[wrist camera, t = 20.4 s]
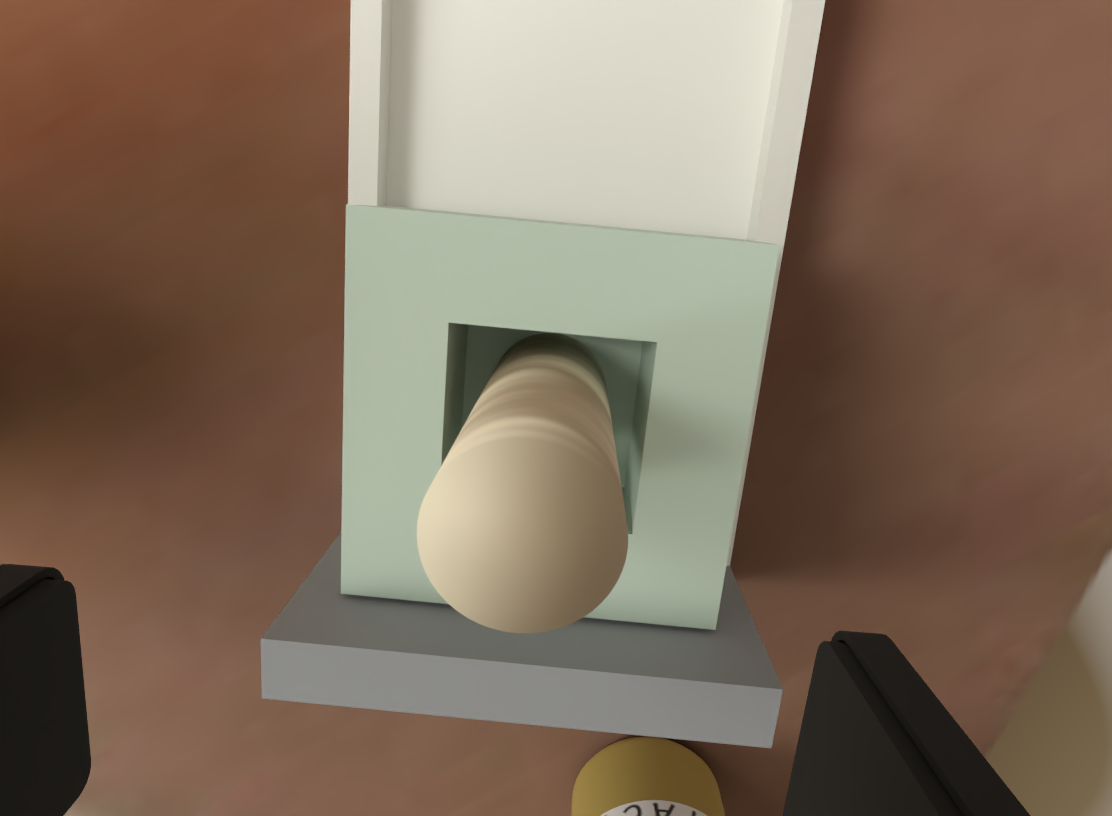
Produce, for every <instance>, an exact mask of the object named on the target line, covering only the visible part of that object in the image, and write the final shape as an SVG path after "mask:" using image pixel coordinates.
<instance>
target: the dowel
mask: <svg viewBox="0 0 1112 816" xmlns="http://www.w3.org/2000/svg"><path fill="white" fill-rule="evenodd" d="M417 546H418V551H419V555H420V559H421V562H422V565H423V568H424V570H425V572H426V574H427V576H428V578H429V580H430V582H431V583H432V585H433V586H434V588H435V589H436V591H437V592H438V593H439V594H440V595H441V596H442V598H443V599H444V600H445V601H446V602H447V603H448V604H449V605H451V606H452V607H453V608H454V609H455V610H456V611H458V612H459V613H461V614H462V615H464V616H465V617H467V618H469V619H471V620H473V621H475V622H476V623H478V624H481V625H484V626H486V627H489V628H492V629H496V630H500V631H504V632H511V633H539V632H547V631H551V630H555V629H559V628H561V627H564V626H567V625H570V624H572V623H574V622H576V621H578V620H579V619H581V618H583V617H584V616H586V615H587V614H589V613H590V612H592V611H593V610H594V609H595V608H596V607H597V606H599V605H600V604H601V603H602V602H603V601H604V600H605V598H606V597H607V596H608V595H609V594H610V592H611V591H612V589H613V588H614V586H615V585H616V583H617V581H618V579H619V577H620V575H621V573H622V571H623V567H624V564H625V561H626V556H627V550H628V528H627V520H626V514H625V507H624V500H623V494H622V487H621V480H620V474H619V467H618V460H617V454H616V447H615V440H614V434H613V427H612V420H611V414H610V407H609V401H608V394H607V387H606V381H605V376H604V372H603V370H602V367H601V365H600V363H599V362H598V360H597V358H596V357H595V356H594V354H593V353H592V352H591V351H590V350H589V349H588V348H587V347H586V346H584V345H583V344H582V343H580V342H578V341H577V340H575V339H573V338H570V337H568V336H564V335H560V334H553V333H543V334H536V335H533V336H529V337H527V338H524V339H522V340H520V341H519V342H517V343H515V344H514V345H513V346H512V347H510V348H509V349H508V350H507V351H506V352H505V354H504V355H503V356H502V358H501V359H500V361H499V363H498V364H497V366H496V368H495V370H494V372H493V373H492V375H491V377H490V379H489V381H488V382H487V384H486V386H485V388H484V390H483V391H482V393H481V395H480V397H479V399H478V400H477V402H476V404H475V406H474V408H473V410H472V411H471V413H470V415H469V417H468V419H467V420H466V422H465V424H464V426H463V428H462V429H461V431H460V433H459V435H458V437H457V438H456V440H455V442H454V444H453V446H452V448H451V449H450V451H449V453H448V455H447V457H446V458H445V460H444V462H443V464H442V466H441V467H440V469H439V471H438V473H437V475H436V476H435V478H434V480H433V482H432V484H431V485H430V487H429V489H428V491H427V493H426V495H425V497H424V499H423V502H422V505H421V507H420V511H419V516H418V521H417Z"/></svg>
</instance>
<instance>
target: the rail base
mask: <svg viewBox="0 0 1112 816" xmlns="http://www.w3.org/2000/svg"><path fill="white" fill-rule="evenodd" d="M824 5H825V0H351V25H350V94H349V164H348V205H369V206H391V207H406V208H416V209H427V210H438V211H448V212H459V213H470V214H481V215H491V216H502V217H513V218H523V219H534V220H545V221H555V222H566V223H577V224H587V225H598V226H609V227H619V228H630V229H641V230H651V231H662V232H673V233H684V234H694V235H705V236H716V237H726V238H736V239H743V240H749V241H756V242H763V243H770V244H776V245H780V248H779V254H778V260H777V266H776V272H775V278H774V284H773V290H772V296H771V302H770V308H769V313H768V319H767V325H766V331H765V337H764V343H763V349H762V355H761V361H760V367H759V373H758V379H757V385H756V391H755V397H754V403H753V409H752V415H751V421H750V427H749V433H748V439H747V445H746V451H745V457H744V463H743V469H742V475H741V481H740V487H739V493H738V499H737V505H736V511H735V517H734V523H733V529H732V535H731V541H730V547H729V553H728V559H727V565H726V571H725V577H724V582H723V588H722V594H721V600H720V606H719V612H718V618H717V624H716V630H711V629H700V628H690V627H680V626H669V625H659V624H649V623H638V622H628V621H618V620H607V619H597V618H587V617H583V618H581V619H579V620H578V621H576V622H574V623H572V624H570V625H567V626H564V627H561V628H559V629H555V630H551V631H547V632H539V633H511V632H504V631H500V630H496V629H492V628H489V627H486V626H484V625H481V624H478V623H476V622H475V621H473V620H471V619H469V618H467V617H465V616H464V615H462V614H461V613H459V612H458V611H456V610H455V609H454V608H453V607H452V606H451V605H449V604H442V603H432V602H422V601H411V600H401V599H391V598H381V597H370V596H360V595H350V594H341V532H340V534H339V535H338V536H337V538H336V539H335V540H334V542H333V543H332V544H331V546H330V547H329V548H328V550H327V551H326V552H325V554H324V555H323V556H322V558H321V559H320V560H319V562H318V563H317V564H316V566H315V567H314V568H313V570H312V571H311V572H310V574H309V575H308V576H307V578H306V579H305V580H304V582H303V583H302V584H301V586H300V587H299V588H298V590H297V591H296V592H295V594H294V595H293V596H292V598H291V599H290V600H289V602H288V603H287V604H286V606H285V607H284V608H283V609H282V611H281V612H280V613H279V615H278V616H277V617H276V619H275V620H274V621H273V623H272V624H271V625H270V627H269V628H268V629H267V631H266V632H265V633H264V635H263V636H262V637H261V683H262V698H263V699H273V700H283V701H293V702H304V703H314V704H324V705H334V706H344V707H355V708H365V709H375V710H385V711H396V712H406V713H416V714H426V715H436V716H447V717H457V718H467V719H477V720H487V721H498V722H508V723H518V724H528V725H539V726H549V727H559V728H569V729H579V730H590V731H600V732H610V733H620V734H630V735H641V736H651V737H661V738H671V739H681V740H692V741H702V742H712V743H722V744H733V745H743V746H753V747H763V748H772V743H773V738H774V733H775V728H776V723H777V718H778V713H779V708H780V703H781V698H782V692H783V688H782V686H781V683H780V681H779V679H778V676H777V674H776V672H775V669H774V667H773V665H772V663H771V660H770V658H769V656H768V653H767V651H766V649H765V646H764V644H763V642H762V639H761V637H760V635H759V632H758V630H757V628H756V625H755V623H754V621H753V618H752V616H751V614H750V611H749V609H748V607H747V604H746V602H745V600H744V597H743V595H742V593H741V591H740V588H739V586H738V584H737V581H736V579H735V577H734V574H733V572H732V570H731V567H730V562H731V556H732V550H733V545H734V539H735V533H736V527H737V521H738V515H739V509H740V503H741V497H742V491H743V485H744V479H745V473H746V467H747V462H748V456H749V450H750V444H751V438H752V432H753V426H754V420H755V414H756V408H757V402H758V396H759V390H760V385H761V379H762V373H763V367H764V361H765V355H766V349H767V343H768V337H769V331H770V325H771V319H772V313H773V307H774V302H775V296H776V290H777V284H778V278H779V272H780V266H781V260H782V254H783V248H784V242H785V236H786V230H787V224H788V219H789V213H790V207H791V201H792V195H793V189H794V183H795V177H796V171H797V165H798V159H799V153H800V147H801V142H802V136H803V130H804V124H805V118H806V112H807V106H808V100H809V94H810V88H811V82H812V76H813V70H814V64H815V59H816V53H817V47H818V41H819V35H820V29H821V23H822V17H823V11H824Z"/></svg>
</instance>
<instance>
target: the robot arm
mask: <svg viewBox="0 0 1112 816" xmlns="http://www.w3.org/2000/svg"><path fill="white" fill-rule="evenodd" d="M90 768H91V755H90V744H89V733H88V722H87V712H86V701H85V690H84V679H83V668H82V657H81V646H80V635H79V624H78V613H77V602H76V593H75V588H74V586H73V585H72V583H70V582H68V581H64V577H63V576H62V574H61V573H60V571H59V570H57V569H55V568H50V567H38V566H25V565H13V564H2V565H0V816H63V815H64V814H65V813H66V812H67V810H68V809H69V808H70V807H71V806H72V804H73V803H74V802H75V801H76V799H77V798H78V797H79V795H80V794H81V792H82V791H83V789H84V787H85V785H86V783H87V780H88V777H89V773H90ZM783 816H1030V815H1029V813H1028V812H1027V811H1026V810H1025V808H1024V807H1023V806H1022V805H1021V803H1020V802H1019V801H1018V800H1017V798H1016V797H1015V796H1014V795H1013V793H1012V792H1011V791H1010V789H1009V788H1008V787H1007V786H1006V785H1005V783H1004V782H1003V781H1002V780H1001V778H1000V777H999V776H998V774H997V773H996V772H995V771H994V769H993V768H992V767H991V765H990V764H989V763H988V762H987V760H986V759H985V758H984V757H983V755H982V754H981V753H980V752H979V750H978V749H977V748H976V746H975V745H974V744H973V743H972V741H971V740H970V739H969V738H968V736H967V735H966V734H965V733H964V731H963V730H962V729H961V727H960V726H959V725H958V724H957V722H956V721H955V720H954V719H953V717H952V716H951V715H950V714H949V712H948V711H947V710H946V709H945V707H944V706H943V705H942V703H941V702H940V701H939V700H938V698H937V697H936V696H935V695H934V693H933V692H932V691H931V690H930V688H929V687H928V686H927V684H926V683H925V682H924V681H923V679H922V678H921V677H920V676H919V674H918V673H917V672H916V671H915V669H914V668H913V667H912V666H911V664H910V663H909V662H908V660H907V659H906V658H905V657H904V655H903V654H902V653H901V652H900V650H899V649H898V648H897V647H896V645H895V644H894V643H893V641H892V640H891V639H890V638H889V637H888V636H886V635H883V634H874V633H862V632H850V631H838V632H837V633H835V635H834V636H833V638H832V640H831V642H828V641H824V642H822V643H821V644H820V645H819V647H818V650H817V654H816V659H815V664H814V668H813V673H812V678H811V683H810V687H809V692H808V697H807V702H806V707H805V711H804V716H803V721H802V726H801V730H800V735H799V740H798V745H797V750H796V754H795V759H794V764H793V769H792V773H791V778H790V783H789V788H788V793H787V797H786V802H785V807H784V812H783Z"/></svg>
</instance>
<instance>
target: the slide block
mask: <svg viewBox="0 0 1112 816" xmlns="http://www.w3.org/2000/svg"><path fill="white" fill-rule="evenodd" d="M779 248H780V245H776V244H770V243H763V242H756V241H749V240H743V239H736V238H726V237H716V236H705V235H694V234H684V233H673V232H662V231H651V230H641V229H630V228H619V227H609V226H598V225H587V224H577V223H566V222H555V221H545V220H534V219H523V218H513V217H502V216H491V215H481V214H470V213H459V212H448V211H438V210H427V209H416V208H406V207H391V206H369V205H348V204H346V238H345V311H344V384H343V457H342V530H341V594H350V595H360V596H370V597H381V598H391V599H401V600H411V601H422V602H432V603H442V604H448V603H447V602H446V601H445V600H444V599H443V598H442V596H441V595H440V594H439V593H438V592H437V591H436V589H435V588H434V586H433V585H432V583H431V582H430V580H429V578H428V576H427V574H426V572H425V570H424V568H423V565H422V562H421V559H420V555H419V551H418V546H417V521H418V516H419V511H420V507H421V505H422V502H423V499H424V497H425V495H426V493H427V491H428V489H429V487H430V485H431V484H432V482H433V480H434V478H435V476H436V475H437V473H438V471H439V469H440V467H441V466H442V464H443V462H444V460H445V458H446V457H447V455H448V453H449V451H450V449H451V448H452V446H453V444H454V442H455V440H456V438H457V437H458V435H459V433H460V431H461V429H462V428H463V426H464V424H465V422H466V420H467V419H468V417H469V415H470V413H471V411H472V410H473V408H474V406H475V404H476V402H477V400H478V399H479V397H480V395H481V393H482V391H483V390H484V388H485V386H486V384H487V382H488V381H489V379H490V377H491V375H492V373H493V372H494V370H495V368H496V366H497V364H498V363H499V361H500V359H501V358H502V356H503V355H504V354H505V352H506V351H507V350H508V349H509V348H510V347H512V346H513V345H514V344H515V343H517V342H519V341H520V340H522V339H524V338H527V337H529V336H533V335H536V334H543V333H553V334H560V335H564V336H568V337H570V338H573V339H575V340H577V341H578V342H580V343H582V344H583V345H584V346H586V347H587V348H588V349H589V350H590V351H591V352H592V353H593V354H594V356H595V357H596V358H597V360H598V362H599V363H600V365H601V367H602V370H603V372H604V376H605V381H606V387H607V394H608V401H609V407H610V414H611V420H612V427H613V434H614V440H615V447H616V454H617V460H618V467H619V474H620V480H621V487H622V494H623V500H624V507H625V514H626V520H627V528H628V550H627V556H626V561H625V564H624V567H623V571H622V573H621V575H620V577H619V579H618V581H617V583H616V585H615V586H614V588H613V589H612V591H611V592H610V594H609V595H608V596H607V597H606V598H605V600H604V601H603V602H602V603H601V604H600V605H599V606H597V607H596V608H595V609H594V610H593V611H592V612H590V613H589V614H587V615H586V616H584V617H587V618H597V619H607V620H618V621H628V622H638V623H649V624H659V625H669V626H680V627H690V628H700V629H711V630H716V624H717V618H718V612H719V606H720V600H721V594H722V588H723V582H724V577H725V571H726V565H727V559H728V553H729V547H730V541H731V535H732V529H733V523H734V517H735V511H736V505H737V499H738V493H739V487H740V481H741V475H742V469H743V463H744V457H745V451H746V445H747V439H748V433H749V427H750V421H751V415H752V409H753V403H754V397H755V391H756V385H757V379H758V373H759V367H760V361H761V355H762V349H763V343H764V337H765V331H766V325H767V319H768V313H769V308H770V302H771V296H772V290H773V284H774V278H775V272H776V266H777V260H778V254H779Z"/></svg>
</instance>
